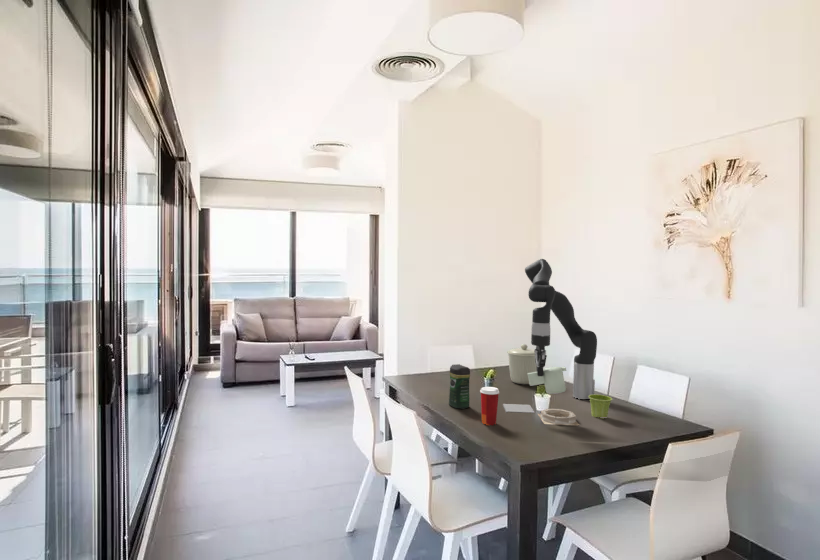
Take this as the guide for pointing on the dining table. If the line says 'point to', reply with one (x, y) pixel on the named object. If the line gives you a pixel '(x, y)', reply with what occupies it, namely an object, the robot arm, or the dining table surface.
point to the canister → (521, 364)
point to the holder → (558, 417)
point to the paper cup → (489, 405)
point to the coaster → (518, 408)
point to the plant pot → (599, 405)
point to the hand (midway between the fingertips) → (539, 375)
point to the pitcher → (549, 379)
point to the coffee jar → (459, 386)
